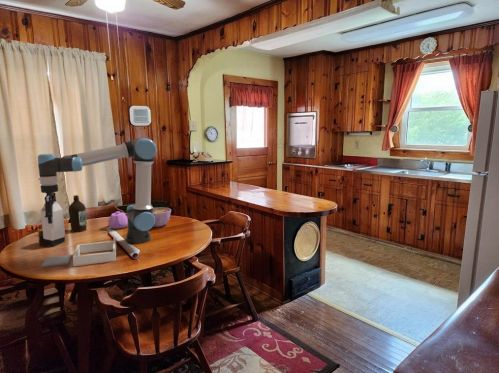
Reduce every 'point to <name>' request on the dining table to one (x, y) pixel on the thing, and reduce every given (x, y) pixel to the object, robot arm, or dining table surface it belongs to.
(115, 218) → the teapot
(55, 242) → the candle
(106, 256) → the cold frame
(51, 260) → the slate tile
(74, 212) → the olive oil
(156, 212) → the bowl of food
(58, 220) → the milk carton
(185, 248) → the dining table surface
